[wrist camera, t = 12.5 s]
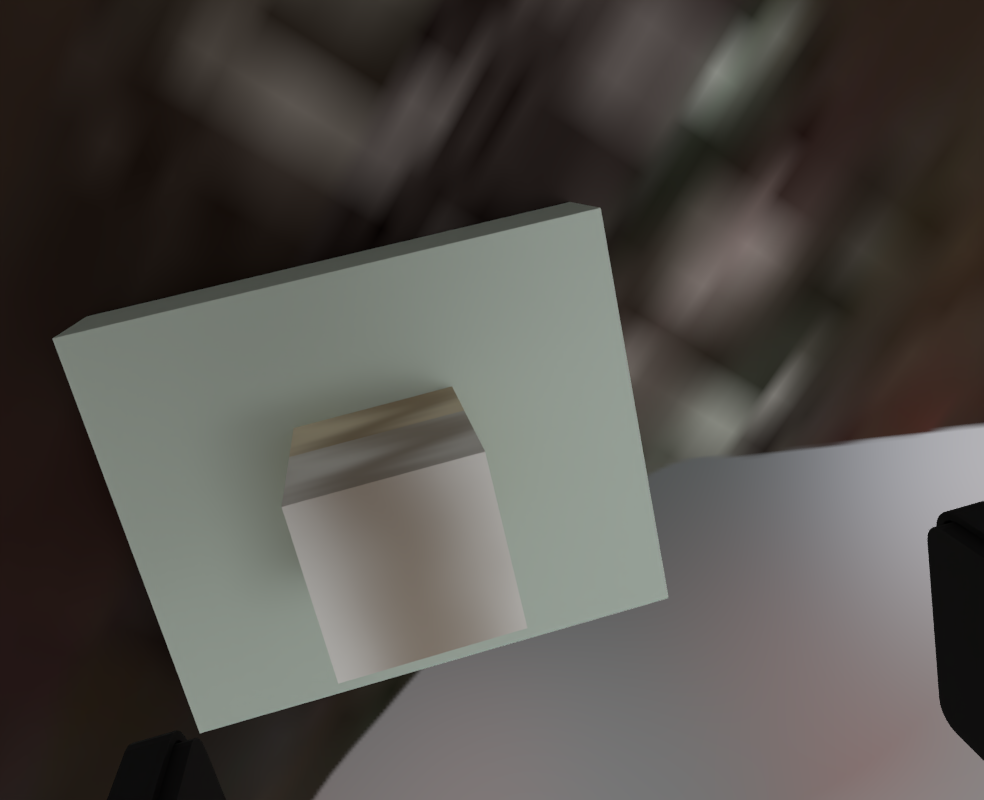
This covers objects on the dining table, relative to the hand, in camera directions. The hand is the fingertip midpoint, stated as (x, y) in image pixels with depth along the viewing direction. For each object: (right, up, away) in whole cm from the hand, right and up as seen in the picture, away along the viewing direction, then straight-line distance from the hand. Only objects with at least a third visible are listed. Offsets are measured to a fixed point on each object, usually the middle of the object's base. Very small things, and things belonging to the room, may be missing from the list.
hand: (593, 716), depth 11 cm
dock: (-5, +2, +24) cm, 24 cm away
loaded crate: (-5, +1, +20) cm, 20 cm away
